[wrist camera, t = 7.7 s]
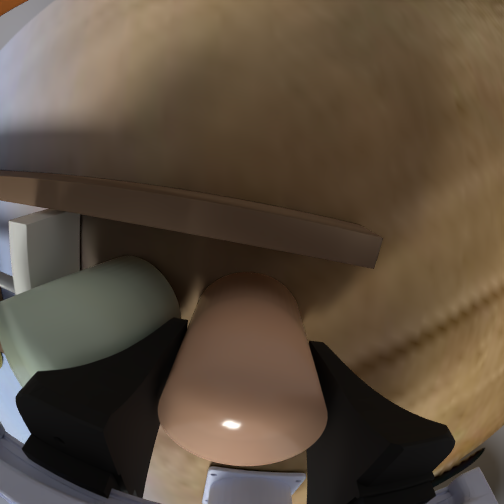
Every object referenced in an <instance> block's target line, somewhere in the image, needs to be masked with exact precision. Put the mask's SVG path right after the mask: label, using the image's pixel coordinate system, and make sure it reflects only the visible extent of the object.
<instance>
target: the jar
mask: <svg viewBox="0 0 504 504" xmlns="http://www.w3.org/2000/svg"><path fill="white" fill-rule="evenodd" d="M158 417H159V421H160V423H161V425H162V427H163V429H164V430H165V432H166V433H167V434H168V436H169V437H170V438H171V439H172V440H173V441H174V442H175V443H177V444H178V445H179V446H181V447H182V448H183V449H185V450H187V451H188V452H190V453H192V454H194V455H196V456H198V457H201V458H204V459H206V460H209V461H213V462H216V463H221V464H227V465H234V466H258V465H266V464H272V463H276V462H280V461H283V460H286V459H289V458H291V457H294V456H296V455H298V454H300V453H301V452H303V451H305V450H306V449H308V448H309V447H310V446H311V445H313V444H314V443H315V442H316V441H317V440H318V439H319V437H320V436H321V434H322V433H323V431H324V429H325V427H326V424H327V419H328V416H327V408H326V405H325V401H324V397H323V393H322V390H321V386H320V382H319V379H318V375H317V371H316V368H315V364H314V361H313V357H312V353H311V350H310V346H309V343H308V339H307V336H306V332H305V329H304V326H303V322H302V319H301V315H300V312H299V308H298V305H297V302H296V300H295V298H294V296H293V295H292V293H291V292H290V291H289V290H288V289H287V288H286V287H285V286H284V285H283V284H282V283H280V282H279V281H277V280H276V279H274V278H272V277H270V276H267V275H264V274H260V273H255V272H239V273H233V274H230V275H227V276H224V277H222V278H220V279H218V280H216V281H215V282H213V283H212V284H211V285H210V286H209V287H208V288H207V289H206V290H205V291H204V292H203V294H202V295H201V297H200V299H199V301H198V303H197V306H196V308H195V311H194V313H193V316H192V318H191V321H190V323H189V326H188V328H187V330H186V333H185V335H184V338H183V340H182V343H181V346H180V348H179V351H178V353H177V356H176V358H175V361H174V363H173V366H172V368H171V371H170V374H169V376H168V379H167V381H166V384H165V387H164V389H163V392H162V395H161V397H160V400H159V404H158Z"/></svg>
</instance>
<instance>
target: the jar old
mask: <svg viewBox="0 0 504 504" xmlns="http://www.w3.org/2000/svg"><path fill="white" fill-rule="evenodd" d="M173 317H175V318H180V319H181V312H180V308H179V304H178V301H177V298H176V296H175V293H174V291H173V289H172V288H171V286H170V284H169V283H168V281H167V280H166V278H165V277H164V276H163V275H162V274H161V273H160V271H158V270H157V269H156V268H155V267H154V266H153V265H151V264H150V263H149V262H147V261H145V260H143V259H141V258H138V257H135V256H121V257H118V258H115V259H112V260H109V261H106V262H103V263H101V264H98V265H95V266H92V267H89V268H87V269H84V270H81V271H78V272H75V273H73V274H70V275H67V276H65V277H62V278H59V279H57V280H54V281H51V282H49V283H46V284H43V285H41V286H38V287H35V288H33V289H30V290H28V291H25V292H23V293H20V294H18V295H15V296H13V297H10V298H8V299H5V300H3V301H0V342H1V345H2V348H3V351H4V354H5V356H6V358H7V361H8V363H9V365H10V367H11V369H12V371H13V373H14V375H15V376H16V378H17V380H18V381H19V383H20V385H21V386H22V388H23V387H24V385H25V384H26V383H27V382H28V381H29V380H30V379H31V377H32V376H33V375H34V374H35V373H36V372H37V371H47V370H58V369H65V368H71V367H76V366H81V365H85V364H89V363H92V362H95V361H98V360H101V359H104V358H107V357H109V356H112V355H114V354H116V353H119V352H121V351H123V350H125V349H127V348H129V347H130V346H132V345H134V344H135V343H137V342H139V341H140V340H142V339H144V338H145V337H147V336H148V335H149V334H151V333H152V332H154V331H155V330H157V329H158V328H159V327H161V326H162V325H163V324H165V323H166V322H167V321H169V320H170V319H171V318H173Z"/></svg>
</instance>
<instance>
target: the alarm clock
mask: <svg viewBox="0 0 504 504" xmlns="http://www.w3.org/2000/svg"><path fill="white" fill-rule="evenodd" d="M26 1H28V0H0V16H1V15H3V14H5V13H6V12H8V11H10V10H11V9H13V8H15V7H17V6H18V5H20V4H22V3H24V2H26Z"/></svg>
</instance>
